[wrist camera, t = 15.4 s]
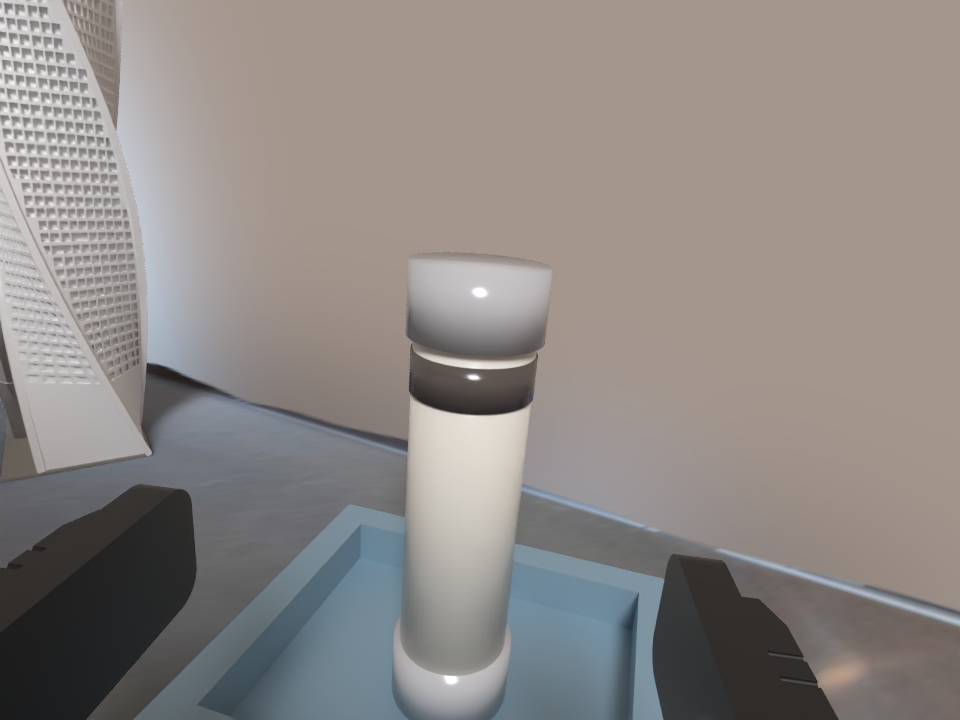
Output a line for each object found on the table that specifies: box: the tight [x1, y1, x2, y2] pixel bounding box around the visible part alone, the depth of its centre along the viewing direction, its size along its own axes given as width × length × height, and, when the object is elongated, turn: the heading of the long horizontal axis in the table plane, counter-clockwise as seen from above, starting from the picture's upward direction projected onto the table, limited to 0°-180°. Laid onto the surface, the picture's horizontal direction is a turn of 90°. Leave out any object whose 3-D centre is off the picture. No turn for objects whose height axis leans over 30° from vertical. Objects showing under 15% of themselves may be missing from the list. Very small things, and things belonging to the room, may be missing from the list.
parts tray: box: [133, 504, 664, 720], centre depth 19 cm, size 14×12×2 cm
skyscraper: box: [0, 0, 152, 483], centre depth 31 cm, size 8×8×28 cm
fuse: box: [392, 252, 553, 720], centre depth 17 cm, size 4×4×14 cm
